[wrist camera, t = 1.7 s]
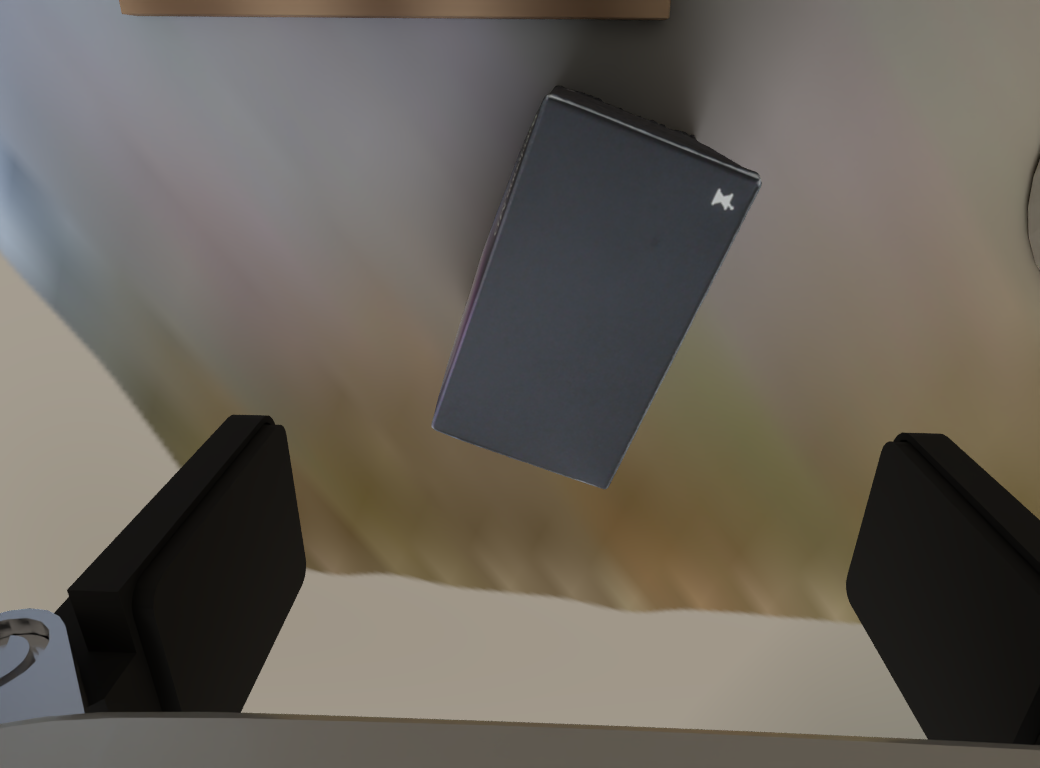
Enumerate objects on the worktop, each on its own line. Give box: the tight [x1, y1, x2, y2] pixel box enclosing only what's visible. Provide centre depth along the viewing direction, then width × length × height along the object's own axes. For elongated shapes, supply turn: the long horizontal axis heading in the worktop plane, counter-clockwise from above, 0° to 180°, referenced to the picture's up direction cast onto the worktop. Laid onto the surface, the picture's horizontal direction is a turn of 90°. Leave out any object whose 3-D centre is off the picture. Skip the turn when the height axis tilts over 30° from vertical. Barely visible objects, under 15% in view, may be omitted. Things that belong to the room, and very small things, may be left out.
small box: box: [432, 86, 762, 489], centre depth 23 cm, size 11×6×10 cm, turn 160°
